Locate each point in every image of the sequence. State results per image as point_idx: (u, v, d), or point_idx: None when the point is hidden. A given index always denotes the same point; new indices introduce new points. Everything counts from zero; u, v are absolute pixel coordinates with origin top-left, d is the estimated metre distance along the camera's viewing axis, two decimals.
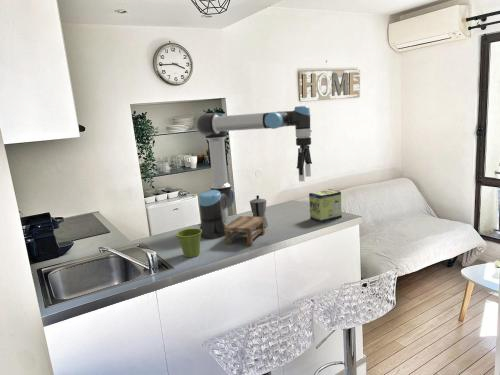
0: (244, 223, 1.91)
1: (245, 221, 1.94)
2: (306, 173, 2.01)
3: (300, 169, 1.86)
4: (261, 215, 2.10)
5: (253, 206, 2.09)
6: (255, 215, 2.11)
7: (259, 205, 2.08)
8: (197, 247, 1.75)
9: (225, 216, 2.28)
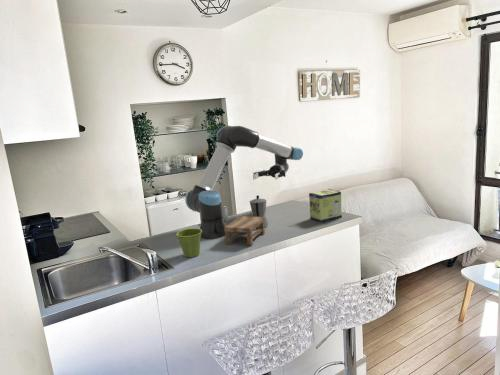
0: (244, 223, 1.91)
1: (245, 221, 1.94)
2: (255, 175, 2.23)
3: (281, 175, 2.22)
4: (261, 215, 2.10)
5: (253, 206, 2.09)
6: (255, 215, 2.11)
7: (259, 205, 2.08)
8: (197, 247, 1.75)
9: (225, 216, 2.28)
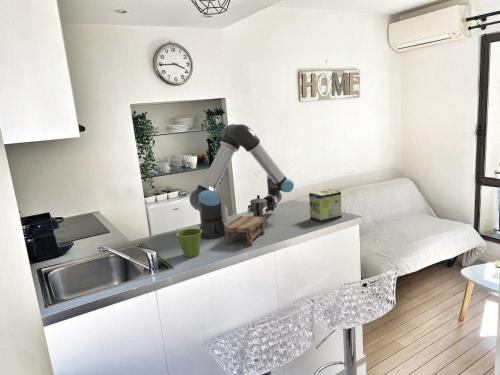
0: (244, 223, 1.91)
1: (245, 221, 1.94)
2: (250, 209, 2.11)
3: (269, 209, 2.11)
4: (261, 215, 2.10)
5: (253, 206, 2.09)
6: (255, 215, 2.11)
7: (259, 205, 2.08)
8: (197, 247, 1.75)
9: (225, 216, 2.28)
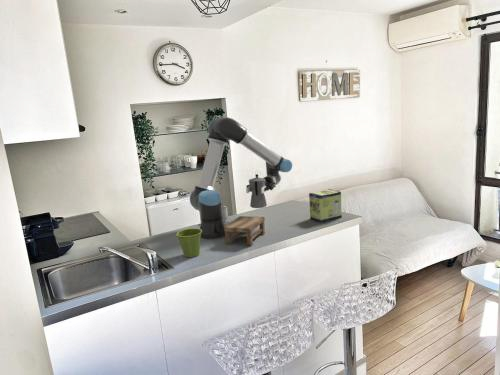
0: (244, 223, 1.91)
1: (245, 221, 1.94)
2: (248, 188, 2.08)
3: (268, 188, 2.08)
4: (260, 194, 2.07)
5: (252, 185, 2.06)
6: (254, 194, 2.08)
7: (258, 184, 2.05)
8: (197, 247, 1.75)
9: (225, 216, 2.28)
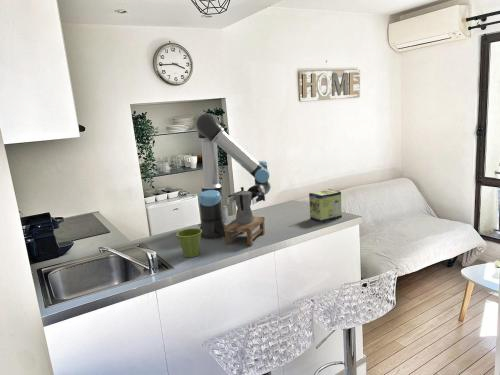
0: None
1: None
2: (230, 199, 1.92)
3: (260, 198, 1.91)
4: (246, 209, 1.90)
5: (237, 199, 1.89)
6: (239, 209, 1.91)
7: (244, 198, 1.88)
8: (197, 247, 1.75)
9: (225, 216, 2.28)
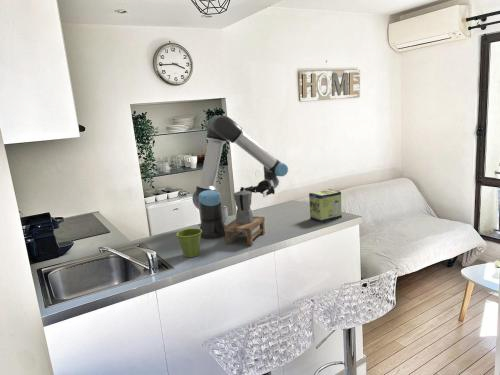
0: None
1: None
2: None
3: (270, 192, 2.04)
4: (246, 209, 1.90)
5: (237, 199, 1.89)
6: (239, 209, 1.91)
7: (244, 198, 1.88)
8: (197, 247, 1.75)
9: (225, 216, 2.28)
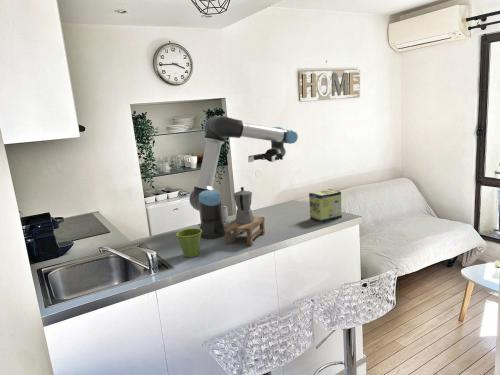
0: None
1: None
2: (250, 158, 2.10)
3: (278, 157, 2.08)
4: (246, 209, 1.90)
5: (237, 199, 1.89)
6: (239, 209, 1.91)
7: (244, 198, 1.88)
8: (197, 247, 1.75)
9: (225, 216, 2.28)
